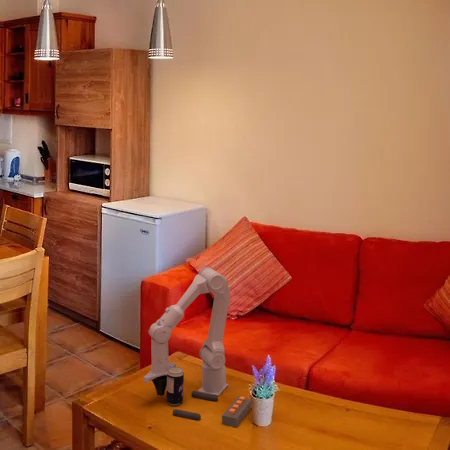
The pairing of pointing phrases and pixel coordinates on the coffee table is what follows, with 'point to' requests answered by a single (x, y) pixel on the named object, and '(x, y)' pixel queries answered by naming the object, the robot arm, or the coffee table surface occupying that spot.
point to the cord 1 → (186, 414)
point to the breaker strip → (236, 411)
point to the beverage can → (175, 385)
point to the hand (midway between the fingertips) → (160, 394)
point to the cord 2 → (204, 396)
